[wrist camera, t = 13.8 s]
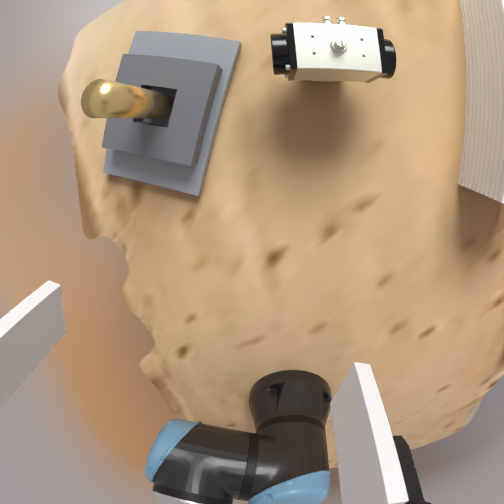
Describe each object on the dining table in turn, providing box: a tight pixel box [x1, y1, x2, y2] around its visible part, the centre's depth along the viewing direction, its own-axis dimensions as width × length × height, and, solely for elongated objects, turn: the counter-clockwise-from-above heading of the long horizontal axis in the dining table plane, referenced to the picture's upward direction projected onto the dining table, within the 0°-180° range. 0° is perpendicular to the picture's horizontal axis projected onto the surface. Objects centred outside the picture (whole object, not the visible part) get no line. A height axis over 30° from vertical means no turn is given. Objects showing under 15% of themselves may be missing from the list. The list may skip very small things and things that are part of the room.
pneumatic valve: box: [270, 16, 396, 83], centre depth 25 cm, size 6×12×12 cm, turn 94°
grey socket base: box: [102, 31, 241, 196], centre depth 32 cm, size 20×14×4 cm
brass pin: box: [81, 79, 174, 119], centre depth 25 cm, size 3×3×15 cm
